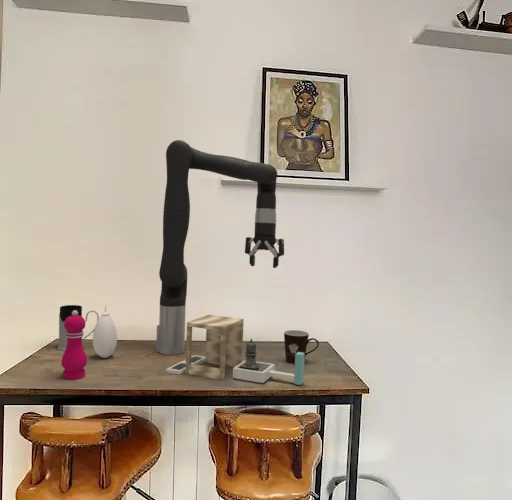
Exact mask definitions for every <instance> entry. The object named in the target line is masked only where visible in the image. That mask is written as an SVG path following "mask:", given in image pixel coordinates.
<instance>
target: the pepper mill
mask: <svg viewBox="0 0 512 500" xmlns="http://www.w3.org/2000/svg"><path fill="white" fill-rule="evenodd" d="M85 320H86V319H85V318H84V317H83V316H82V317H81V316H79V315H78V311H76V310H74V311H73V312H72V316H69V317H68V318H66V320H65V322H64V328H65V329H66V330H67V332H66V337H67V347H66V350H65V351H63V352H64V353H63V355H62V357H61V362H60V363H61V366H62V368H63V369H64V370H62V377H64V378H63V379H65V378H67V379H66V380H79V379H82V378H84V377H86V369H85V367H86V365H87V364H88V358H87V357H88V356H87V355H86V351H85V349H84V346H82V345H83V343H82V339H83V338H84V337H85V336H84V331H83V330H84V329H85V328H86V322H85ZM78 378H79V379H78Z"/></svg>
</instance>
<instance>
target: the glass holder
mask: <svg viewBox="0 0 512 500" xmlns="http://www.w3.org/2000/svg"><path fill="white" fill-rule="evenodd" d="M74 310H76V311H78V315H79V316H81V317H83V306H81V305H78V304H68V305H67V304H66V305H62V306H60V307H59V314H58V317H59V318H58V346H57V350H58V351H62V352H65V350H66V347H67V337H66V332H67V330H66V329H65V328H64V322H65V320H66V318H68V317H69V316H72V312H73V311H74ZM89 313H95V314H96V316H97V317H96V319H97V320H96V322H97V321H98V319H99V318H100V316H99V314H98V312H97V311H95V310H89V311H88V312H87V313H86V315H85V319H84V320H85V323H86V322H87V321H88V315H89ZM94 329H95V327H94V328H93V330H92V331H91V332H89V333H88V334H87V335H86V336H84V337H82V346H83V342H84V340H85V339H86V338H87V337H89V336H90V335H91V334H93V333H94ZM83 347H84V346H83Z"/></svg>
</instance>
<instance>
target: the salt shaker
mask: <svg viewBox="0 0 512 500" xmlns="http://www.w3.org/2000/svg"><path fill="white" fill-rule="evenodd" d="M256 346H257V345H256V342H255V341H254V340H253V338H250V340H249V341H248V342H246V351H245V353H244V354H245V360H246V361H245V360H244V361H245V363H243V364H241V366H242V369H247V370H253V371H258V369H259V367H260V365H259V364H257V363H256V361H257V360H256V357H257V356H256V355H257V352H256V350H257V348H256Z"/></svg>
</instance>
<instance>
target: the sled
mask: <svg viewBox="0 0 512 500" xmlns="http://www.w3.org/2000/svg"><path fill="white" fill-rule="evenodd" d="M304 356H305V353H303V352H298V353H296V354H295V364H294V373H291V372H290V373H289V372H284V371H278V370H276V364H274V363H269V362H263V361H262V362H261V361H257V360H256V363H257V364H259V365H260V367H259V369H258V371H253V370H247V369H242V366H241V364H243V363H245V361H246V359H245V360H242V363H240V364H239V365H237V366H236V367H232V379H237V380H238V379H239V380H244V381H250V382H255V383H261V384H264V383H265V382H267V380H269V379H270V378H271V377H273V378H280V379H284V380H285V379H286V380H292V381H294V382H293V384H294V385H297V386H301V385H302V384H303V383H304V379H305V378H304V377H305V376H304V375H305V360H304ZM305 357H306V356H305Z"/></svg>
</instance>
